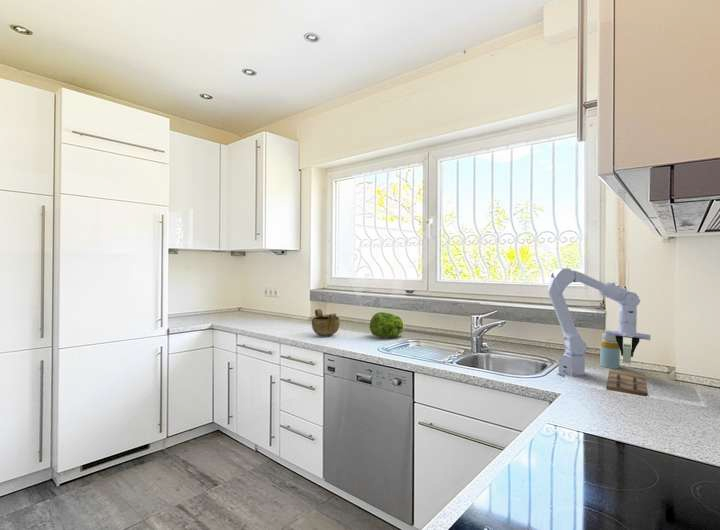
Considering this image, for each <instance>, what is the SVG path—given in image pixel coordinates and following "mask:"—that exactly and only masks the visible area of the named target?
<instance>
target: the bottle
mask: <svg viewBox="0 0 720 530" xmlns="http://www.w3.org/2000/svg"><path fill="white" fill-rule="evenodd" d="M599 355H600V357H599V366H600V367H602V368H605V369H609V370H619V369H620V362H621V361H620V359H621V358H620V357H621V351H620V348H619V345H618V343H617V341H616V336H606V332H604V333H602V334H601V342H600V353H599Z"/></svg>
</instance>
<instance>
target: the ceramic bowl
mask: <svg viewBox="0 0 720 530" xmlns="http://www.w3.org/2000/svg"><path fill="white" fill-rule="evenodd" d="M314 315H315V316H314V317H312V318H311V328H312V330H313V332H314V333H315V334H316V335H317V336H319V337H322V338H323V337H324V338H325V337H331V336H333V335H335V334H336V333H337V332H338V330H339V329H340V323H341V322H340V317H339V316H337V314H336V313H330V314H329V315H324V314H323V311H322V309H318V308H316V309H315V310H314Z"/></svg>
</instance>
